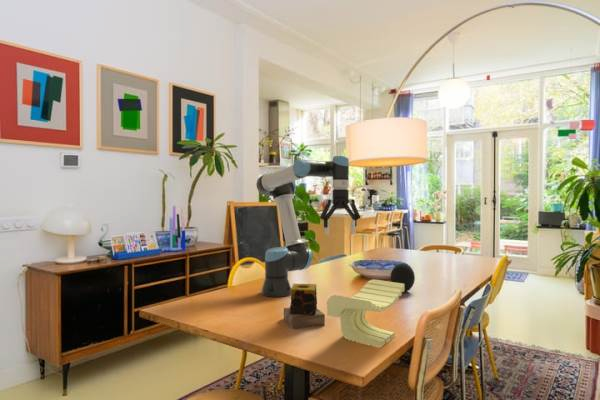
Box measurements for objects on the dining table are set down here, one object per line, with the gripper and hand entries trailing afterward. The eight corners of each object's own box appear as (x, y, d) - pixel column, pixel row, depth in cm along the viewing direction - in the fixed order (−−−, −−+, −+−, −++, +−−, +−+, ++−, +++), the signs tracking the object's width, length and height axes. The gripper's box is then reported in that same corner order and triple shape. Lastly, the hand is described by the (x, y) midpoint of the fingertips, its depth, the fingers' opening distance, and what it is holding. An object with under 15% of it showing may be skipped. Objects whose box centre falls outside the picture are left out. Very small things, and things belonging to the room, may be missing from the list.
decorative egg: (390, 288, 218) (390, 261, 217) (413, 289, 215) (413, 261, 215) (390, 294, 205) (390, 265, 205) (415, 295, 203) (415, 266, 203)
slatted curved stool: (366, 322, 161) (366, 278, 161) (404, 330, 152) (404, 283, 151) (326, 345, 137) (327, 293, 136) (369, 356, 127) (369, 301, 127)
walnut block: (283, 320, 165) (283, 308, 165) (313, 317, 169) (313, 305, 169) (293, 330, 152) (293, 317, 152) (324, 327, 156) (324, 314, 156)
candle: (315, 315, 155) (315, 290, 155) (289, 314, 156) (289, 289, 156) (317, 307, 165) (317, 283, 165) (293, 306, 166) (293, 283, 166)
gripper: (319, 188, 179) (319, 235, 179) (367, 189, 188) (367, 233, 189) (313, 188, 186) (312, 234, 186) (359, 189, 195) (359, 232, 196)
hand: (340, 234), depth 187 cm, fingers open, 13 cm apart
